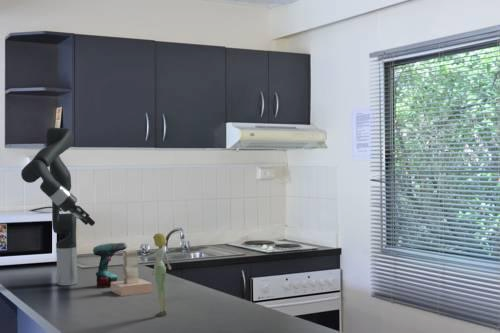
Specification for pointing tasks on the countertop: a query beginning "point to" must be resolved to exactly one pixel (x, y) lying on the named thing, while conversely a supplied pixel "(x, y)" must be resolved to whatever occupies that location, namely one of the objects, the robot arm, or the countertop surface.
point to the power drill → (106, 262)
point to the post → (130, 266)
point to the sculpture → (160, 270)
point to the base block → (131, 287)
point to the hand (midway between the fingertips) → (90, 223)
